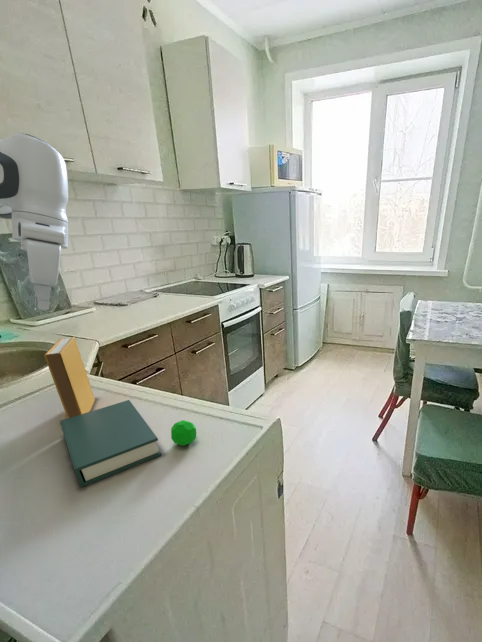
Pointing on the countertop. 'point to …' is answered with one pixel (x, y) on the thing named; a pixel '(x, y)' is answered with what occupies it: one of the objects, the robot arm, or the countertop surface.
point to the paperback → (70, 377)
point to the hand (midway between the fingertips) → (42, 308)
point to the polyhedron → (183, 432)
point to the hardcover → (108, 441)
